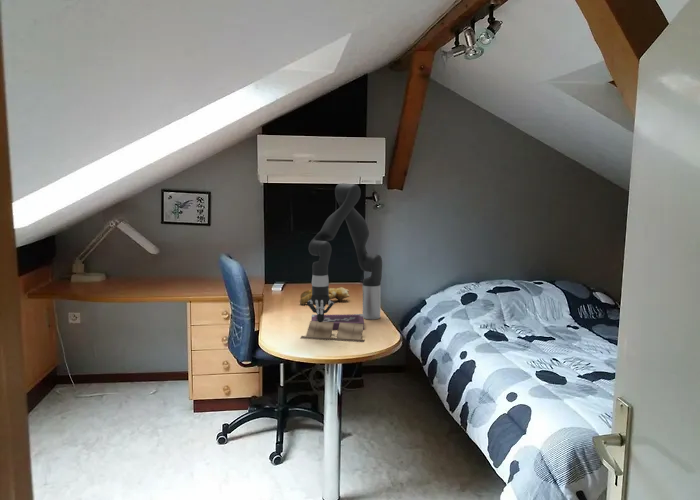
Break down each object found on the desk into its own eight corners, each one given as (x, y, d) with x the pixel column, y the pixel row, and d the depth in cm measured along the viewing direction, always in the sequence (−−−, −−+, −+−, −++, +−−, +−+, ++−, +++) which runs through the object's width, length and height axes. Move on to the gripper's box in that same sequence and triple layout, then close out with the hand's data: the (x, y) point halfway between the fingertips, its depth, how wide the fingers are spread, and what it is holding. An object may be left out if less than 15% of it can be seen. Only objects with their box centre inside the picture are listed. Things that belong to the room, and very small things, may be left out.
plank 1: (310, 322, 252) (310, 320, 251) (333, 323, 250) (333, 322, 249) (306, 337, 246) (305, 336, 245) (330, 339, 243) (329, 337, 242)
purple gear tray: (362, 323, 273) (362, 314, 272) (364, 333, 257) (364, 322, 256) (311, 324, 272) (311, 314, 271) (310, 333, 256) (310, 323, 255)
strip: (301, 339, 245) (301, 335, 245) (364, 343, 239) (364, 339, 239) (299, 341, 242) (299, 337, 242) (363, 345, 236) (363, 341, 236)
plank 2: (340, 324, 249) (339, 322, 248) (363, 325, 247) (363, 323, 246) (336, 339, 243) (336, 338, 242) (360, 341, 240) (360, 339, 240)
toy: (300, 310, 310) (352, 305, 316) (300, 295, 307) (352, 290, 313) (297, 300, 323) (346, 294, 329) (296, 285, 319) (346, 280, 326)
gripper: (336, 283, 248) (336, 320, 250) (308, 282, 251) (308, 319, 253) (332, 286, 241) (332, 324, 243) (303, 285, 243) (304, 323, 246)
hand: (320, 321), depth 248 cm, fingers closed
